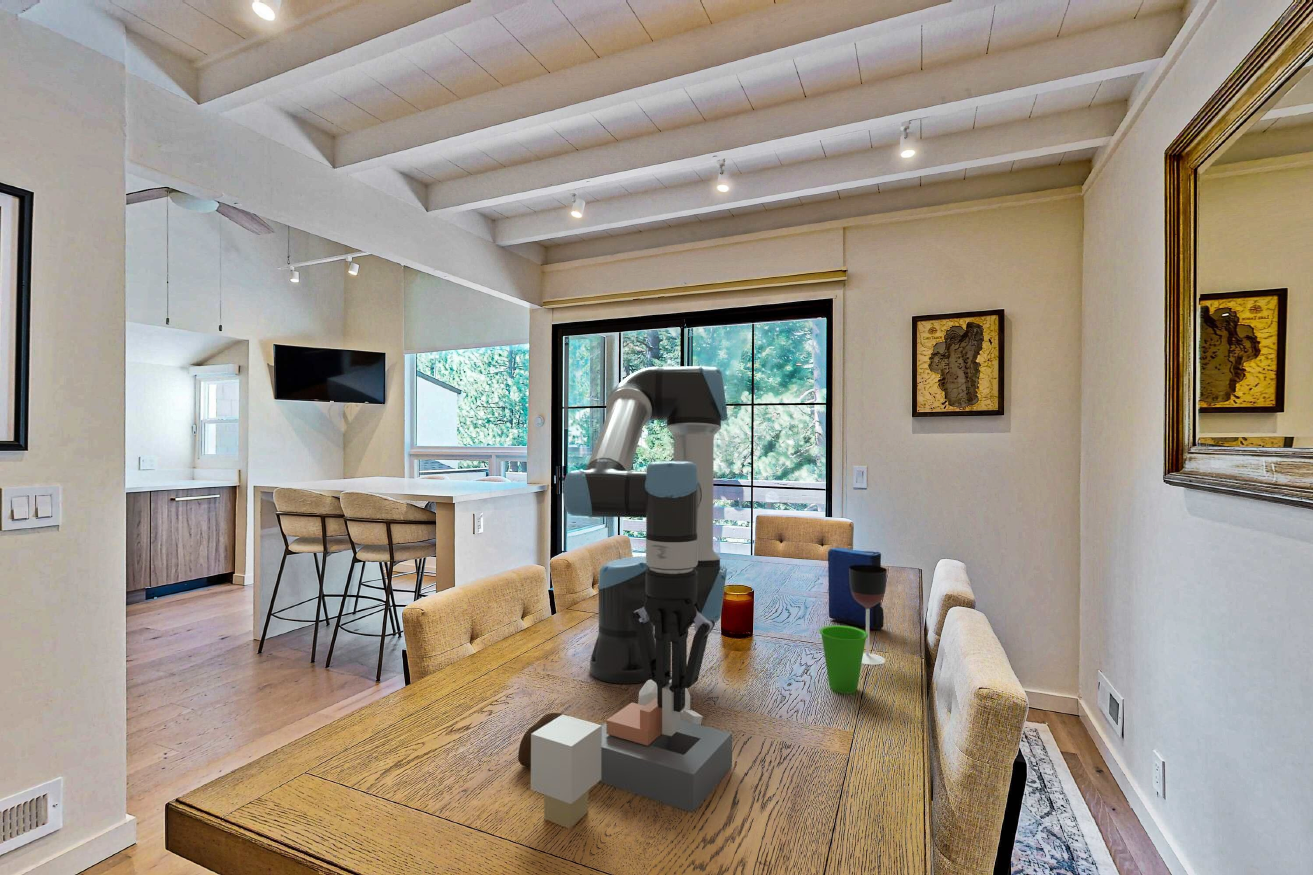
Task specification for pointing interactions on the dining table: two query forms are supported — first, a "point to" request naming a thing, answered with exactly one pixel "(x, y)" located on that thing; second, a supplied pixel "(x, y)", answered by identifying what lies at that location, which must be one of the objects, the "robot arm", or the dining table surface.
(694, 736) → the socket board
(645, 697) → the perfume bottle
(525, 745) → the potato
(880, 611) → the book
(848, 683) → the cup
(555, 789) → the plug
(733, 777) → the dining table surface
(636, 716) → the orange l-shaped block
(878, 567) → the wineglass
